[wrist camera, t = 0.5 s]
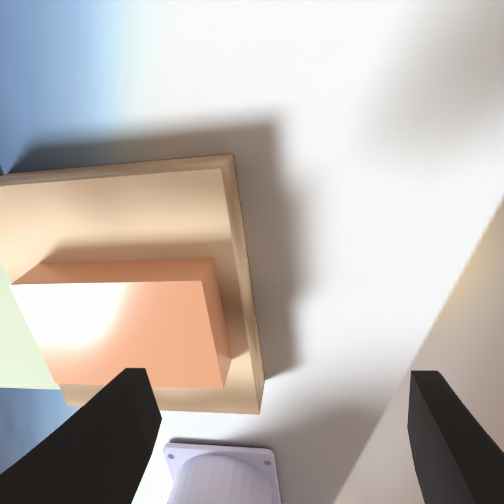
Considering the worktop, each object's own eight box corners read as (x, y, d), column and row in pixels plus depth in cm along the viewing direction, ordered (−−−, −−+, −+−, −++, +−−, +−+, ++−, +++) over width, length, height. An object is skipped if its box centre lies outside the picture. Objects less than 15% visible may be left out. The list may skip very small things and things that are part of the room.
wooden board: (264, 380, 24) (259, 414, 22) (89, 376, 26) (68, 406, 24) (232, 153, 18) (221, 168, 15) (6, 173, 20) (-32, 188, 18)
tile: (231, 359, 20) (223, 388, 18) (76, 356, 22) (55, 383, 20) (213, 257, 17) (201, 280, 16) (38, 263, 19) (9, 285, 17)
